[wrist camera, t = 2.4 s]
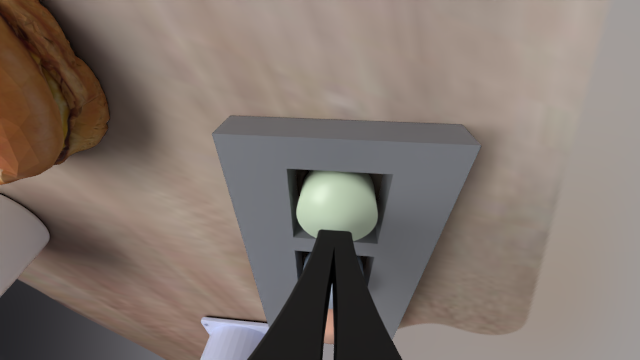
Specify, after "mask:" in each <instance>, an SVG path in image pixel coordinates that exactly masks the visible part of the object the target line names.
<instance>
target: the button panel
mask: <svg viewBox="0 0 640 360" xmlns="http://www.w3.org/2000/svg"><path fill="white" fill-rule="evenodd" d="M212 136H213V139H214V143H215V146H216V149H217V153H218V156H219V160H220V163H221V166H222V170H223V173H224V177H225V180H226V183H227V187H228V190H229V194H230V197H231V200H232V204H233V207H234V211H235V214H236V217H237V221H238V224H239V228H240V231H241V234H242V238H243V241H244V245H245V248H246V251H247V255H248V258H249V262H250V265H251V268H252V272H253V275H254V279H255V282H256V285H257V289H258V292H259V296H260V299H261V302H262V306H263V309H264V313H265V316H266V319H267V323H268V326H269V328H270V327H271V325H272V324H273V322H274V321H275V319H276V317H277V316H278V314H279V313H280V311H281V309H282V308H283V306H284V305H285V303H286V301H287V299H288V298H289V296H290V294H291V292H292V291H293V289H294V287H295V285H296V283H297V281H298V280H299V278H300V276H301V274H302V272H303V268H304V267H303V262H302V251H308V252H312V249H313V247H314V244H315V241H316V238H315V237H313V236H311V235H310V234H308V233H307V232H306V231H305V230H304V229H303V228H302V227H301V225H300V224H299V222H298V219H297V215H296V210H297V205H298V192H297V178H296V169H304V170H322V171H340V172H359V173H377V174H383V177H382V182H381V187H380V192H379V197H378V202H377V212H378V219H377V223H376V225H375V227H374V228H373V230H372V231H371V232H370V233H369V234H367V235H366V236H364V237H363V238H361V239H358V240H356V241H353V244H354V248H355V252H356V255H359V256H367V258H366V264H365V269H364V272H363V276H364V279H365V282H366V285H367V287H368V290H369V292H370V294H371V297H372V299H373V302H374V304H375V306H376V308H377V311H378V313H379V315H380V317H381V319H382V321H383V323H384V325H385V327H386V330H387V332H388V334H389V336H390V337H391V339H393V337H394V335H395V333H396V331H397V328H398V326H399V324H400V322H401V320H402V318H403V315H404V313H405V311H406V309H407V307H408V304H409V302H410V300H411V298H412V296H413V294H414V291H415V289H416V287H417V285H418V283H419V280H420V278H421V276H422V274H423V272H424V270H425V267H426V265H427V263H428V261H429V259H430V256H431V254H432V252H433V250H434V248H435V246H436V243H437V241H438V239H439V237H440V235H441V232H442V230H443V228H444V226H445V224H446V222H447V219H448V217H449V215H450V213H451V211H452V208H453V206H454V204H455V202H456V200H457V198H458V195H459V193H460V191H461V189H462V187H463V184H464V182H465V180H466V178H467V176H468V174H469V171H470V169H471V167H472V165H473V163H474V160H475V158H476V156H477V154H478V152H479V150H480V147H481V145H480V144H479V142H478V141H477V140H476V139H475V138H474V137H473V136H472V135H471V134H470V133H469V132H468V131H467V130H466V128H465V127H464V126H463V125H460V124H434V123H408V122H382V121H356V120H330V119H304V118H278V117H252V116H229V117H228V118H227V119H226V120H225V121H224V122H223V123H222V124H221V125H220V126H219V127H218V128H217V129H216V130H215V131H214V132H213V133H212Z"/></svg>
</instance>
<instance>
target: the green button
mask: <svg viewBox="0 0 640 360" xmlns="http://www.w3.org/2000/svg"><path fill="white" fill-rule="evenodd" d="M296 215H297V219H298V222H299V224H300V225H301V227H302V228H303V229H304V230H305V231H306V232H307V233H308V234H310V235H311V236H313V237H315V238H317V234H318V231H319V230H321V229H324V230H338V231H350V232H351V233H352V238H353V241H356V240H358V239H361V238H363V237H364V236H366V235H367V234H369V233H370V232H371V231H372V230H373V228H374V227H375V225H376V223H377V219H378V212H377V204H376V197H375V190H374V184H373V181H372V179H371V177H370V176H369V174H368V173H359V172H340V171H322V170H311V171H310V172H309V173H308V174H307V175H306V177H305V179H304V181H303V185H302V189H301V193H300V197H299V201H298V205H297V210H296Z"/></svg>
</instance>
